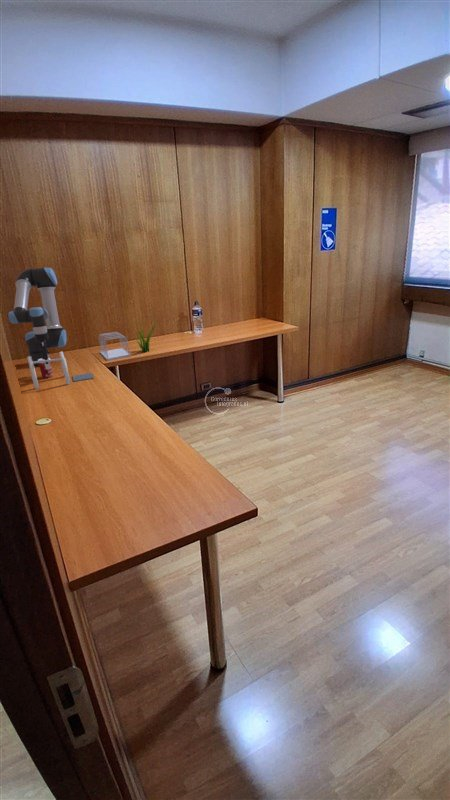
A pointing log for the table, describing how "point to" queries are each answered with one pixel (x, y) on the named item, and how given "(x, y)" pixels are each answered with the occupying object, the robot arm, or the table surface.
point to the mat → (83, 377)
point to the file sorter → (115, 352)
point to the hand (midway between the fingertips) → (48, 366)
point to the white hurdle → (62, 359)
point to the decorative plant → (145, 343)
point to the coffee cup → (45, 372)
